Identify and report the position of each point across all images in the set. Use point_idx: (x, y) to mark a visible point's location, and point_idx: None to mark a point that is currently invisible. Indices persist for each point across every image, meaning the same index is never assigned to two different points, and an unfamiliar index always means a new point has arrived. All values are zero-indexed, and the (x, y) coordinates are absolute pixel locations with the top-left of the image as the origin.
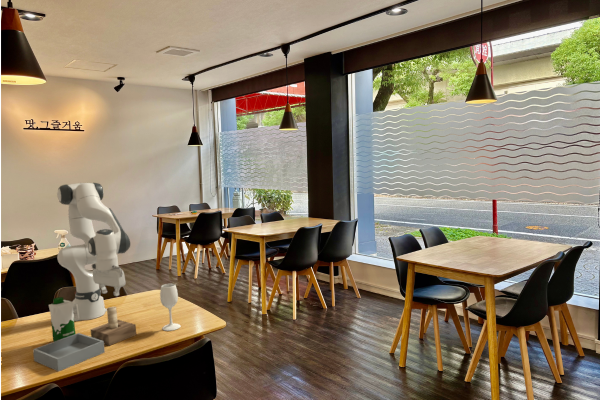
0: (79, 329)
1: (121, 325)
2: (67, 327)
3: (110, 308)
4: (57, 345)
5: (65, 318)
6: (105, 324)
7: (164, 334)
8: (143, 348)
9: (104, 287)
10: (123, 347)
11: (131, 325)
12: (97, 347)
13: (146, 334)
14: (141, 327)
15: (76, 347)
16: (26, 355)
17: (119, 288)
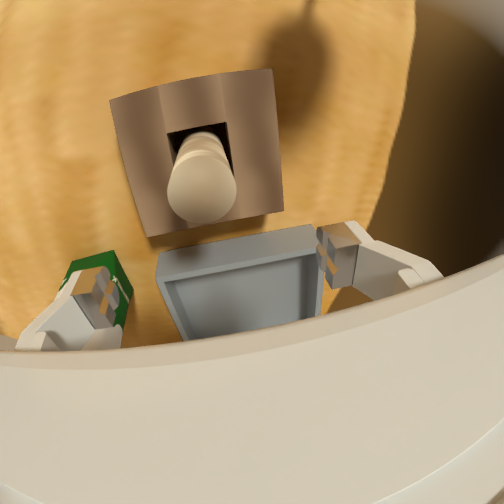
0: (24, 216)
1: (219, 119)
2: (122, 314)
3: (204, 201)
4: (185, 322)
5: (118, 347)
6: (132, 170)
7: (357, 22)
8: (392, 138)
9: (62, 321)
10: (331, 168)
11: (268, 88)
12: None
13: (296, 48)
14: (192, 17)
15: (208, 276)
16: None
17: (421, 268)
